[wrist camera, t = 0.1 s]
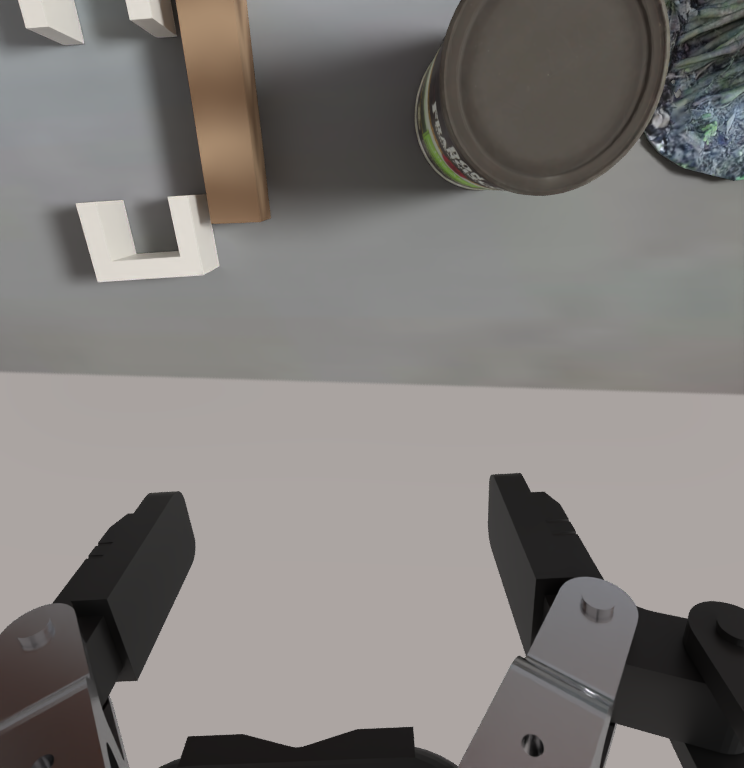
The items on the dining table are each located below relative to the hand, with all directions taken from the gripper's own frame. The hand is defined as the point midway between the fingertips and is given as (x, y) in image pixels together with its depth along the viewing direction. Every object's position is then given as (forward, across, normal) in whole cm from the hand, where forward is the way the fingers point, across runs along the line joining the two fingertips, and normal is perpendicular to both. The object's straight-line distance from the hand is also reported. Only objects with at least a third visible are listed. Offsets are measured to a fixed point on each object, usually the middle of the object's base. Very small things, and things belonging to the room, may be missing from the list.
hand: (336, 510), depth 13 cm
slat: (+29, +8, -14) cm, 33 cm away
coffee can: (+29, -10, -12) cm, 33 cm away
